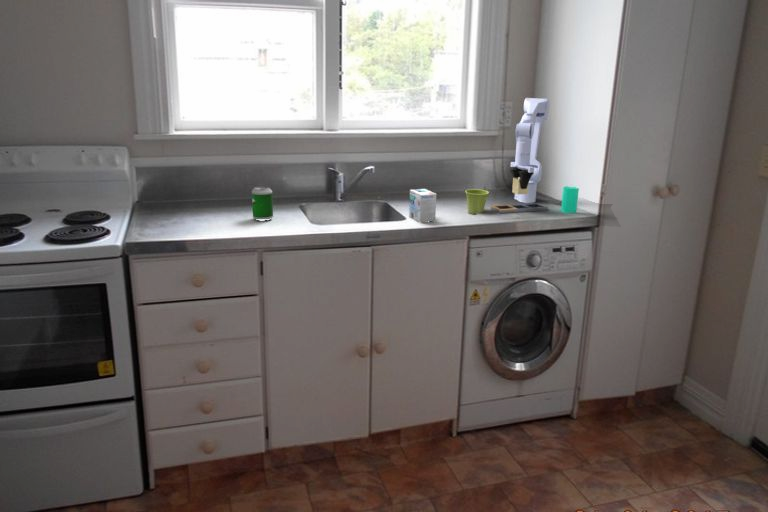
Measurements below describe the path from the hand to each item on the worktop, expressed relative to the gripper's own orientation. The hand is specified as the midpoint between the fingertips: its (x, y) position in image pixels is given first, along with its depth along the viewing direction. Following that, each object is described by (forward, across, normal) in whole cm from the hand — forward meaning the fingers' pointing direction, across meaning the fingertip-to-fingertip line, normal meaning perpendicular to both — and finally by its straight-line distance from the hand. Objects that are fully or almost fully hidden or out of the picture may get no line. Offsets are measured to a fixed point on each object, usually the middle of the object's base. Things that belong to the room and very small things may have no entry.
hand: (520, 187), depth 264 cm
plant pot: (+10, -3, -18) cm, 21 cm away
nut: (+2, 0, 0) cm, 2 cm away
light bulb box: (+10, 0, -43) cm, 44 cm away
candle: (+10, +8, +18) cm, 22 cm away
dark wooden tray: (+10, 0, 0) cm, 10 cm away
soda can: (+10, -15, -101) cm, 102 cm away
